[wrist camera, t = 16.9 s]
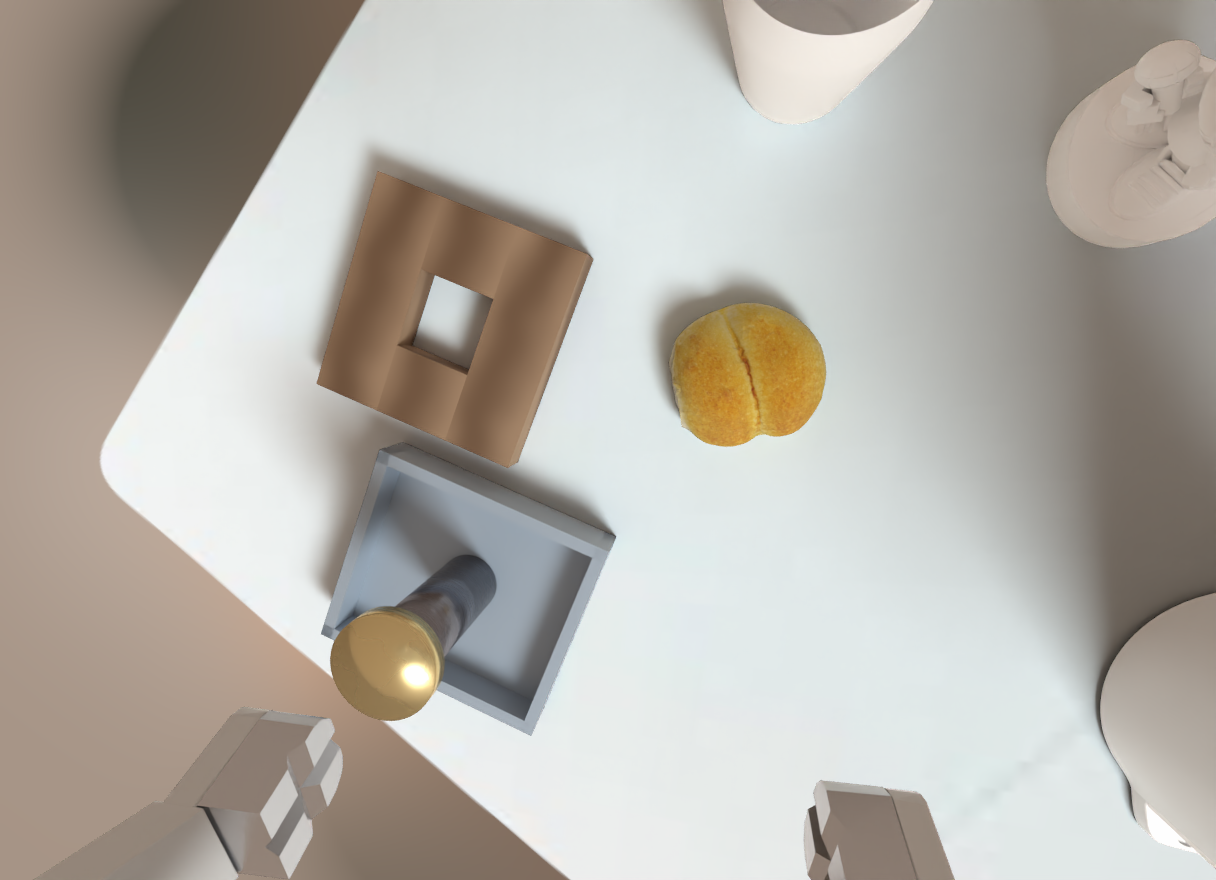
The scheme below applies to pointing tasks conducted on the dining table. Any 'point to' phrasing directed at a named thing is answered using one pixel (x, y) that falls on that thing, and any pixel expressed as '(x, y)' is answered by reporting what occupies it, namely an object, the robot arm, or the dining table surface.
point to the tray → (508, 542)
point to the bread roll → (746, 374)
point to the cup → (812, 50)
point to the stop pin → (410, 641)
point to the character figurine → (1140, 152)
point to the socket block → (393, 306)
